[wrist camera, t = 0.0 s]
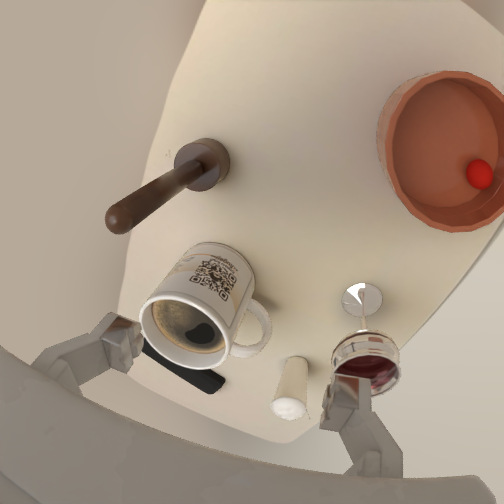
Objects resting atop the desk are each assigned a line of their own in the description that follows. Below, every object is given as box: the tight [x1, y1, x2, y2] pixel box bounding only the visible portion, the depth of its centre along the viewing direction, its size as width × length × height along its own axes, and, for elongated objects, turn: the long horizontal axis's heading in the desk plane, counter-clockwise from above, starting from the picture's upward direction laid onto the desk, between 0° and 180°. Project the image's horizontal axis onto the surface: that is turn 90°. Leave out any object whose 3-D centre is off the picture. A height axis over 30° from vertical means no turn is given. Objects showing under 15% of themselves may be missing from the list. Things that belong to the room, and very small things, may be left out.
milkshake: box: [271, 356, 310, 420], centre depth 39 cm, size 4×5×10 cm
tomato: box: [466, 159, 493, 190], centre depth 24 cm, size 3×3×3 cm
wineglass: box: [331, 283, 401, 398], centre depth 31 cm, size 7×7×12 cm
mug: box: [139, 243, 272, 370], centre depth 35 cm, size 10×12×11 cm
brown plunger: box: [105, 138, 230, 234], centre depth 26 cm, size 5×5×17 cm
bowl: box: [377, 71, 504, 233], centre depth 24 cm, size 14×14×6 cm
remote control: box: [142, 337, 225, 394], centre depth 49 cm, size 5×2×15 cm
